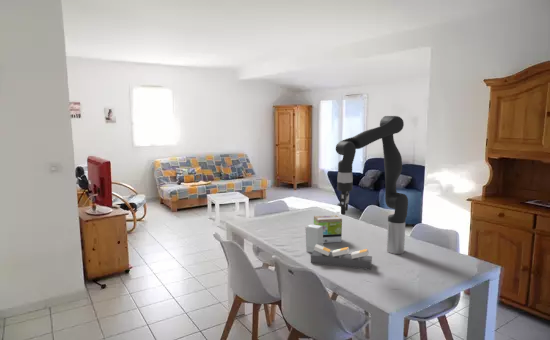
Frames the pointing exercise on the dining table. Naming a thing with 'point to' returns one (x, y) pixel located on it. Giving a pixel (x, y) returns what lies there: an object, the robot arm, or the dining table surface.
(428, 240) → the dining table surface
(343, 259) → the power strip
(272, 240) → the dining table surface
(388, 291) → the dining table surface
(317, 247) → the block
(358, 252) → the block
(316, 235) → the skincare box
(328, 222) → the tea box
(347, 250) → the block
